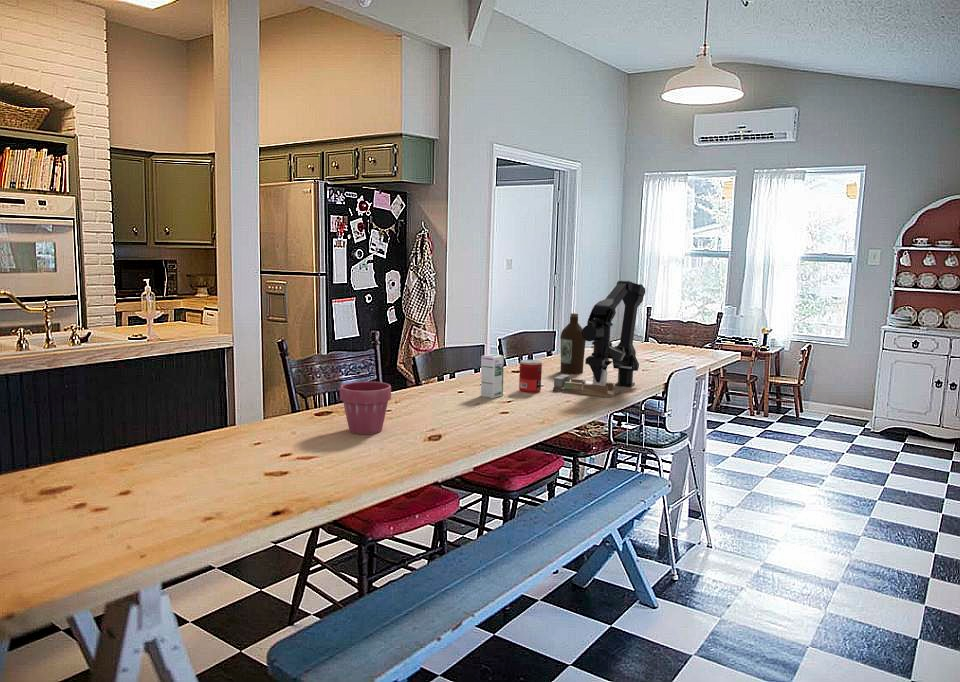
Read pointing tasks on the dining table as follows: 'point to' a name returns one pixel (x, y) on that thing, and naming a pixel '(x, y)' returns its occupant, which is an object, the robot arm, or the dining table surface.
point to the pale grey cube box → (602, 380)
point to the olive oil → (572, 347)
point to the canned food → (530, 376)
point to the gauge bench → (583, 387)
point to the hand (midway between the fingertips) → (599, 381)
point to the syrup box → (492, 375)
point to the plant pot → (365, 405)
